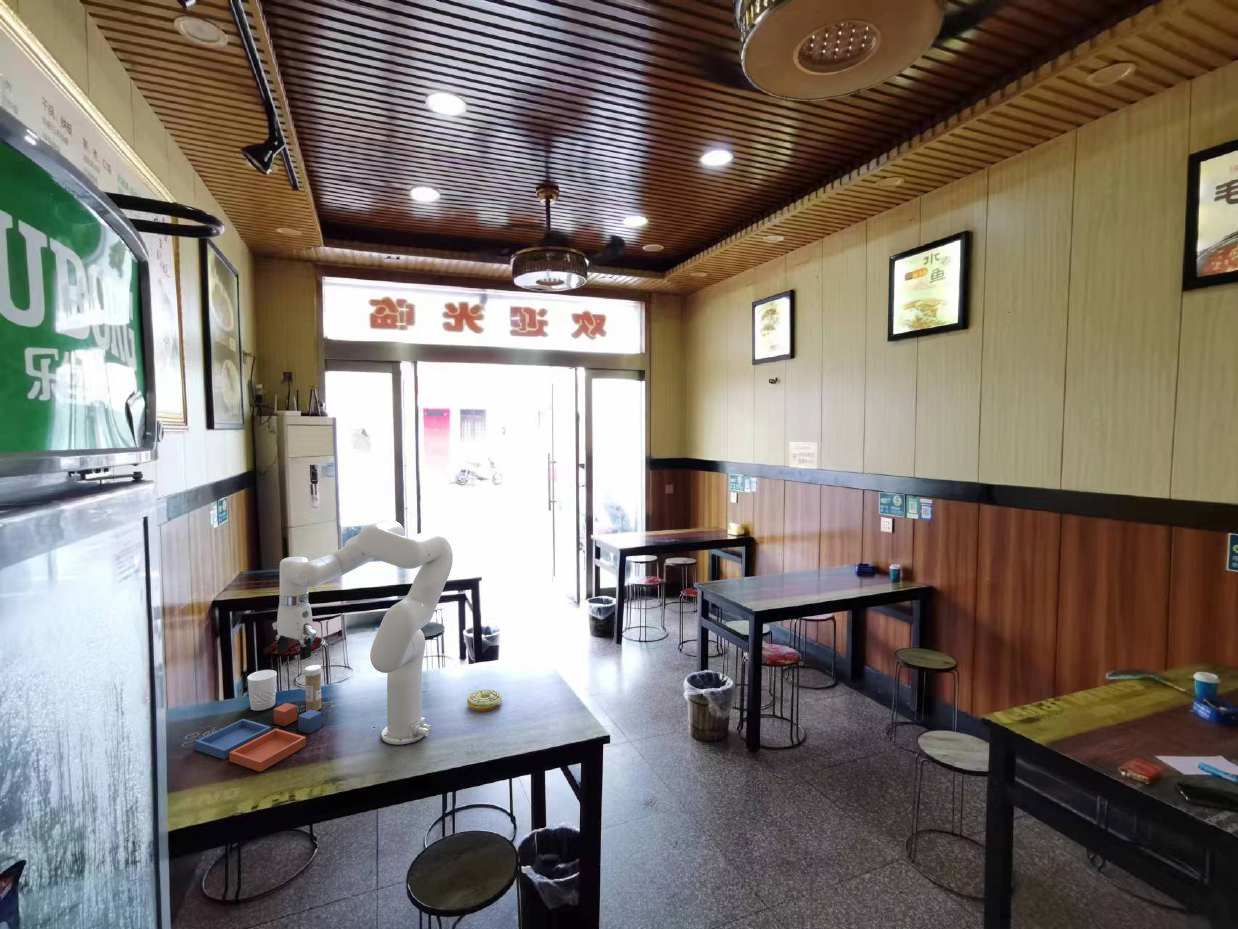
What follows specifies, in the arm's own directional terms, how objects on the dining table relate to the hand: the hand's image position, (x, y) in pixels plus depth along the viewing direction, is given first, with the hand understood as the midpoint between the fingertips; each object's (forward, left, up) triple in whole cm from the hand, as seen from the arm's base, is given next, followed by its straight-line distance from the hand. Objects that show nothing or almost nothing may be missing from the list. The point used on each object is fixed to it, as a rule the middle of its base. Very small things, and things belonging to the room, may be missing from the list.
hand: (293, 655), depth 177 cm
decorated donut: (-46, -32, -20) cm, 59 cm away
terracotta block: (+2, +1, -20) cm, 20 cm away
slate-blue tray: (+4, +16, -20) cm, 26 cm away
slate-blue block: (-8, +1, -20) cm, 22 cm away
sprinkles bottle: (+1, -7, -20) cm, 22 cm away
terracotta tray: (-9, +15, -20) cm, 27 cm away
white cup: (+17, -3, -20) cm, 27 cm away
